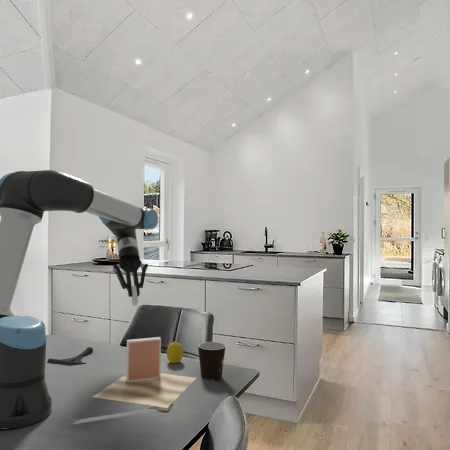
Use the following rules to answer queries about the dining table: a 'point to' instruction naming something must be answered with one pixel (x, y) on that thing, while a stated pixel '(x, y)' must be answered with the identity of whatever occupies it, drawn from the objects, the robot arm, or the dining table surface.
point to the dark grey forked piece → (72, 360)
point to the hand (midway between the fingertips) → (135, 303)
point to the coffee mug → (211, 359)
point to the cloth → (148, 391)
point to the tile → (143, 359)
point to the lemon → (174, 352)
